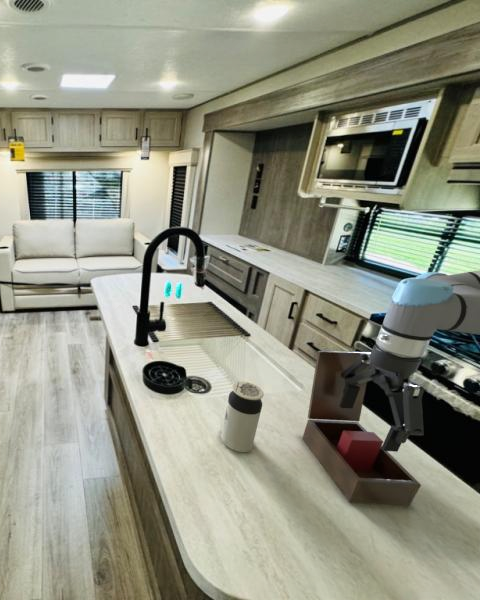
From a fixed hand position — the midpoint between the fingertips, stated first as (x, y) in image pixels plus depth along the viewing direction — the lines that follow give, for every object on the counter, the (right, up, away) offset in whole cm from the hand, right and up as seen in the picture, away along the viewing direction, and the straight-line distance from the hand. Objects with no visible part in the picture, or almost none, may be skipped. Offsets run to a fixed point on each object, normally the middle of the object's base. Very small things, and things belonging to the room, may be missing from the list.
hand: (365, 426), depth 74 cm
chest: (0, -13, +5) cm, 14 cm away
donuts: (-11, +32, +119) cm, 124 cm away
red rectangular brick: (0, -12, +5) cm, 13 cm away
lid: (+1, +7, +9) cm, 11 cm away
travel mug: (-24, -10, +14) cm, 30 cm away
